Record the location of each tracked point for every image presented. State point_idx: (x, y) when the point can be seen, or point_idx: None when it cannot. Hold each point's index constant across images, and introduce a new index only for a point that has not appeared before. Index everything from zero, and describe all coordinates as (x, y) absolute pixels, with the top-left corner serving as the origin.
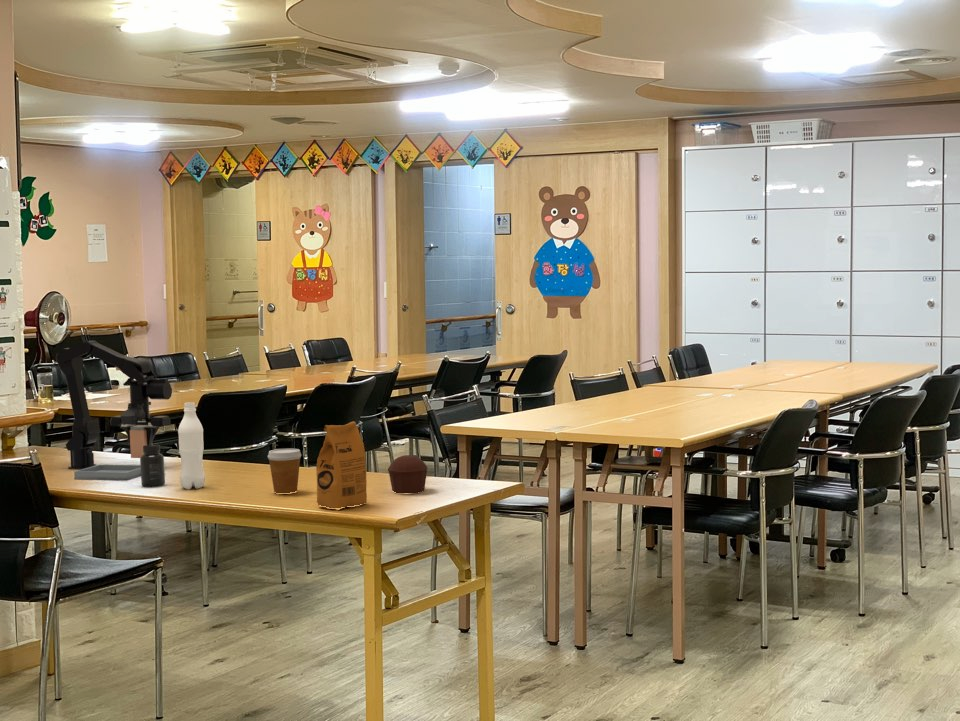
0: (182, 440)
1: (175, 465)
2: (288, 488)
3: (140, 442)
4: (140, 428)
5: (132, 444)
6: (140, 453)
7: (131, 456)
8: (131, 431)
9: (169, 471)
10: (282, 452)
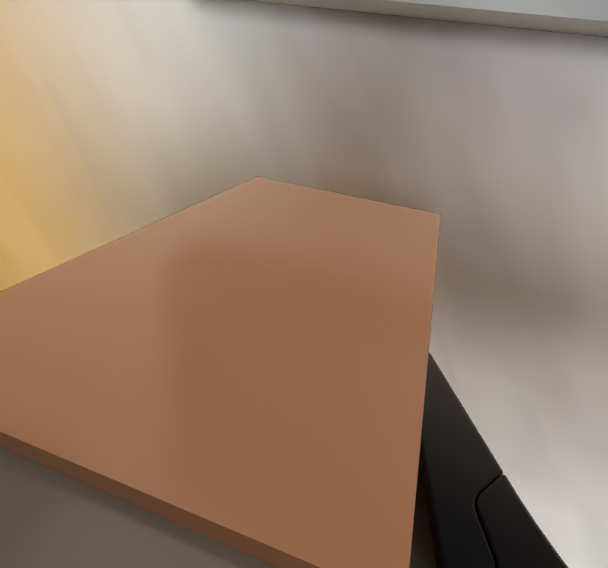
0: None
1: None
2: None
3: (204, 248)
4: None
5: (386, 276)
6: (288, 200)
7: (430, 218)
8: (326, 503)
9: (90, 91)
10: None
